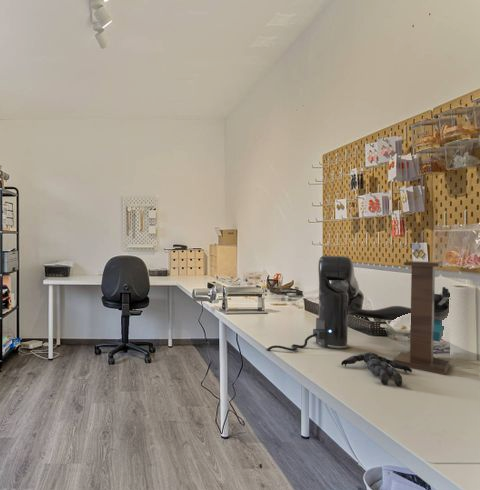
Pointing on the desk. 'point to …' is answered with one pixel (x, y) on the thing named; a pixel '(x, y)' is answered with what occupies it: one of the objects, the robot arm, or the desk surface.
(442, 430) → the desk surface
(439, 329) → the back pad
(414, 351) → the stand
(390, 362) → the dark grey jointed piece
